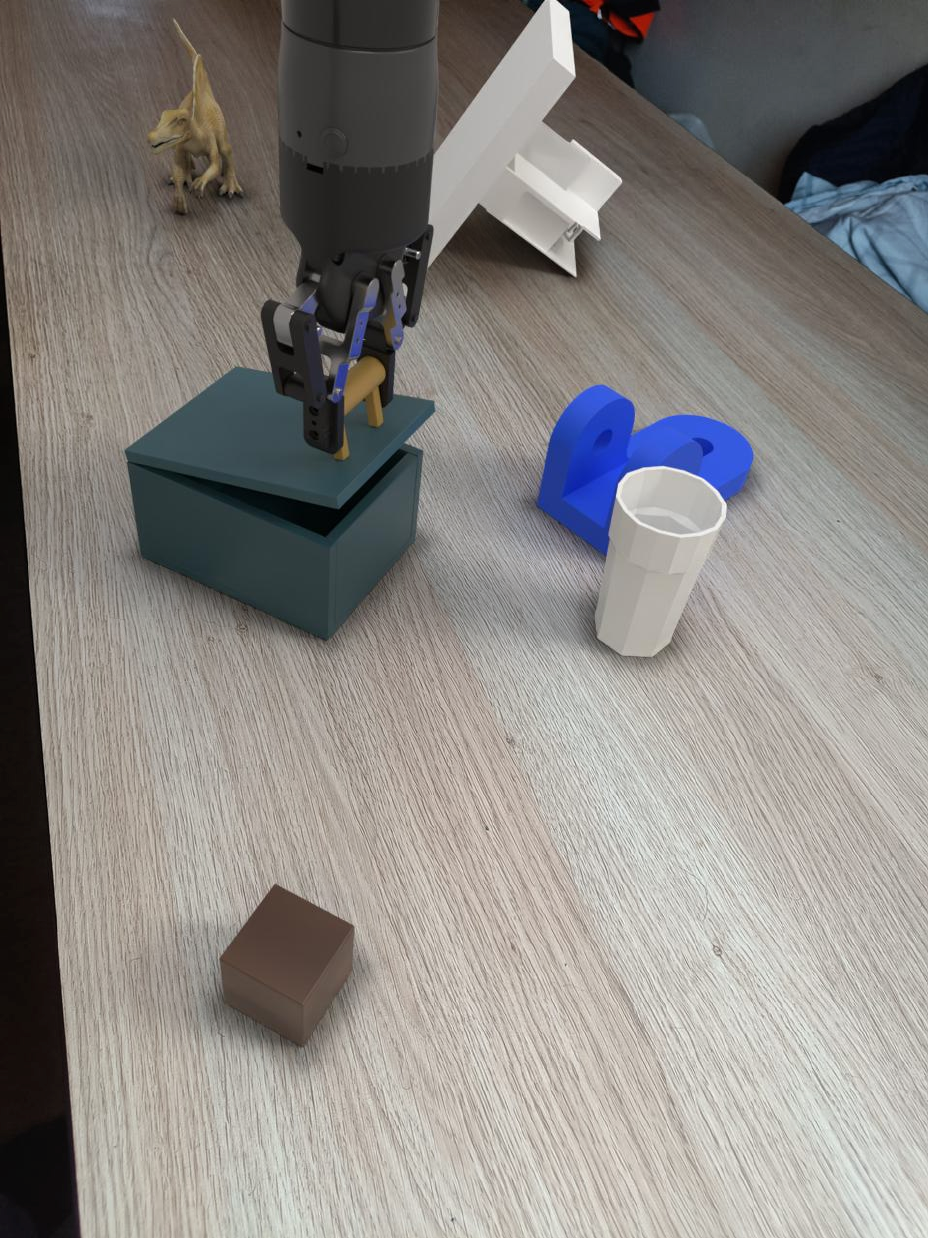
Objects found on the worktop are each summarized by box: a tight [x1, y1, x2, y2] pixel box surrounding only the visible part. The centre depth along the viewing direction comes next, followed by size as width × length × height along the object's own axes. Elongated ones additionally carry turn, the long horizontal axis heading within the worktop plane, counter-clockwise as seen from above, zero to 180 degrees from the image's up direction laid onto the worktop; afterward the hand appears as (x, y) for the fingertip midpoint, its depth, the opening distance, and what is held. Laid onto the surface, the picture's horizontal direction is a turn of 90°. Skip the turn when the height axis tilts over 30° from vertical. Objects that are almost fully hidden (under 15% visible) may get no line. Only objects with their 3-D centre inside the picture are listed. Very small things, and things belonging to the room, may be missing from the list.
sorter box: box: [126, 442, 424, 641], centre depth 70 cm, size 15×12×8 cm
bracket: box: [536, 384, 754, 557], centre depth 79 cm, size 18×8×9 cm, turn 133°
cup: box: [594, 466, 728, 658], centre depth 67 cm, size 7×7×11 cm
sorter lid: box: [123, 356, 436, 509], centre depth 65 cm, size 15×12×5 cm
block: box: [218, 883, 356, 1048], centre depth 50 cm, size 4×4×4 cm
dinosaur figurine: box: [145, 17, 244, 215], centre depth 106 cm, size 8×26×13 cm, turn 5°
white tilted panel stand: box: [402, 0, 623, 297], centre depth 102 cm, size 23×16×24 cm
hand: (349, 422), depth 63 cm, fingers closed on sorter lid, 5 cm apart
